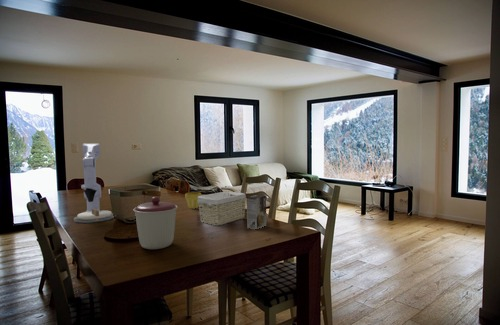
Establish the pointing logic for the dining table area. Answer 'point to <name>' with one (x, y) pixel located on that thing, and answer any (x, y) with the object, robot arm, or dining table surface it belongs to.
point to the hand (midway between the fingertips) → (90, 201)
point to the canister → (155, 223)
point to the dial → (94, 214)
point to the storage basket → (221, 207)
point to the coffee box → (256, 211)
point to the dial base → (93, 220)
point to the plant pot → (192, 200)
